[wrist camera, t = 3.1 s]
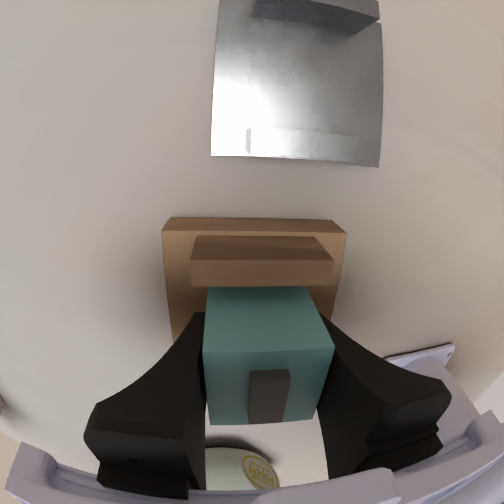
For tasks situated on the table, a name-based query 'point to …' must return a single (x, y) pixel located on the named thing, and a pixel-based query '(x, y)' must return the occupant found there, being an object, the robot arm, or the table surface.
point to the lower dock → (299, 80)
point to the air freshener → (238, 470)
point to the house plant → (1, 404)
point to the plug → (263, 355)
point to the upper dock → (248, 259)
